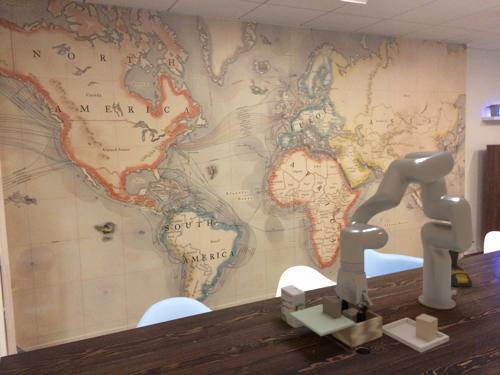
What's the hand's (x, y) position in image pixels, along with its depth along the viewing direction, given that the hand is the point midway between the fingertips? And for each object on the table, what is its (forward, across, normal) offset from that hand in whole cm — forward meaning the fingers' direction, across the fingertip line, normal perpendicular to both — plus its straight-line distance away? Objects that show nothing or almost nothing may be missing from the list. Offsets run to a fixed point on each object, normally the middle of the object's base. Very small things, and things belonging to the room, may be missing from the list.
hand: (352, 318), depth 115 cm
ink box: (+5, -16, -12) cm, 21 cm away
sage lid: (-3, 0, -13) cm, 13 cm away
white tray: (+5, +12, +14) cm, 19 cm away
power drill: (+5, -8, +70) cm, 70 cm away
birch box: (+5, 0, -2) cm, 5 cm away
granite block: (+4, 0, 0) cm, 4 cm away
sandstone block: (+4, +15, +16) cm, 23 cm away
